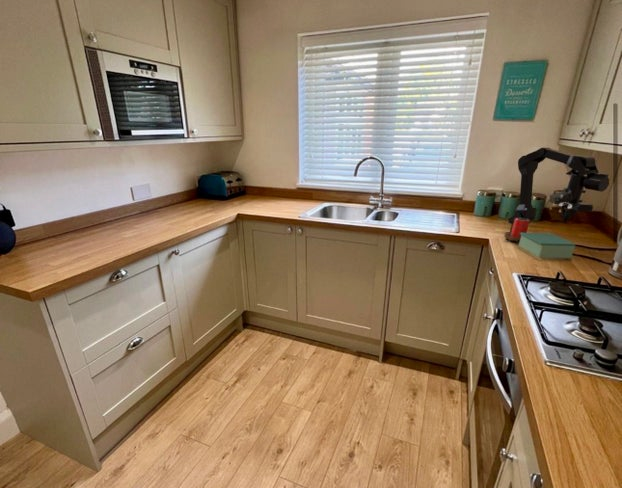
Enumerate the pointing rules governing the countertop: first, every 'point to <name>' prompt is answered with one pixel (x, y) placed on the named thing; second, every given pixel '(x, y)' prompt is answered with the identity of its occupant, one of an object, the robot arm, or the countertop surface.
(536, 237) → the lid
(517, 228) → the can
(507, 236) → the stool
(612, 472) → the countertop surface
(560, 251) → the green hinged box
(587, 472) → the countertop surface
